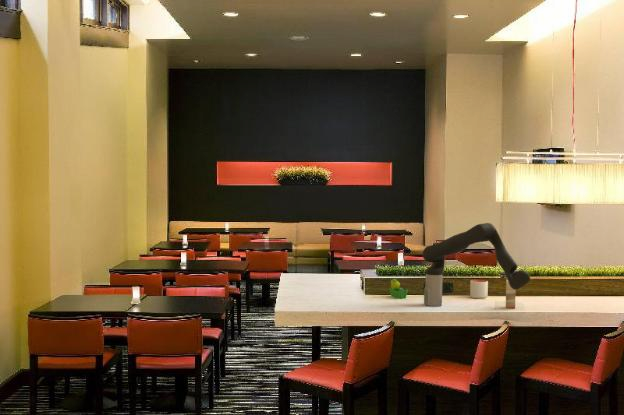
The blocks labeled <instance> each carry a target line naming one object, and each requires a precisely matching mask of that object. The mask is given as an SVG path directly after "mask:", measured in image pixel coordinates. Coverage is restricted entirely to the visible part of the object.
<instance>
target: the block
mask: <svg viewBox="0 0 624 415" xmlns="http://www.w3.org/2000/svg"><path fill="white" fill-rule="evenodd" d="M516 291H517V290H514V289H512V288H511V286H510V284H509V281H508V279H506V280H505V302H506V308H510V309H509V310H516V309H515V302H516V296H517V294H516V293H517V292H516Z"/></svg>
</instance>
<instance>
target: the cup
mask: <svg viewBox="0 0 624 415" xmlns="http://www.w3.org/2000/svg"><path fill="white" fill-rule="evenodd" d="M469 286H470V287H469V289H470V290H469V296H470V298H472V299H476V298H477V299H479V300H482V299H487V298H488V293H489V292H488V290H489V288H488V287H489V281H488V280H484V279H470V285H469Z"/></svg>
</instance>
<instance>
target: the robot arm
mask: <svg viewBox="0 0 624 415" xmlns="http://www.w3.org/2000/svg"><path fill="white" fill-rule="evenodd" d="M483 242H484V243H485V242H489V243H491V245H492V246H493V248H494V250H495V258H496V261H497V263H498V264H499V266H500V267H501V269H502V270H503V272H500V273H499V274H500V275H499V276H500V279H505V278H506V280H508V281H509V284H510V286H511V288H512V289H514V290H516V291H517V290H520V289H521V288H523V287H525V285H527V284H529V283H530V281H531V274H529V272H528V271H526V270H524V269H520V270H519V269H518V264H517V263H516V261H515V260H514V258H513V257H512V255H511V254H510V253H509V251H508V250H507V248H506V246H505V244H504V242H503V240H502V238H501V236H500V234H499V232H498V230H497V228H496V227H495V226H494V225H493V224H492V223H491V222H486V223H479V224H475V225H474V226H472V227H471V228H469V229H467V230H466V231H464V232H460V233H457V234H454V235H452V236H450V237H447V239H444V240H442V241H440V242H438V243H434V244H432V245H427V246H426V247H425V248H424V249H423V251H422V258H423V260H424V261H425V262H427V263H432V264H431V265H430V266H429V267H427V268H426V269H425V287H424V289H423V305H425V306H428V307H441V306H442V305H443V274H444V273H443V272H444V270H445V260H446V256H449V255H450V256H451V255H455V254H458V253H461V252H463V251H465V250H467V249H468V248H469V246H470V245H473V244H478V243H483Z"/></svg>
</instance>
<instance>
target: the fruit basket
mask: <svg viewBox="0 0 624 415" xmlns="http://www.w3.org/2000/svg"><path fill="white" fill-rule="evenodd" d="M388 290H389V293H390V297H392V298H394V299H397V300H400V299H401V300H403V299H405V300H406V298H407V296H408V292H409V289H406V288H404V287H401V283H400V282H399V281H398V280H397V279H396V278H393V279H391V281H390V287H388Z"/></svg>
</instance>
